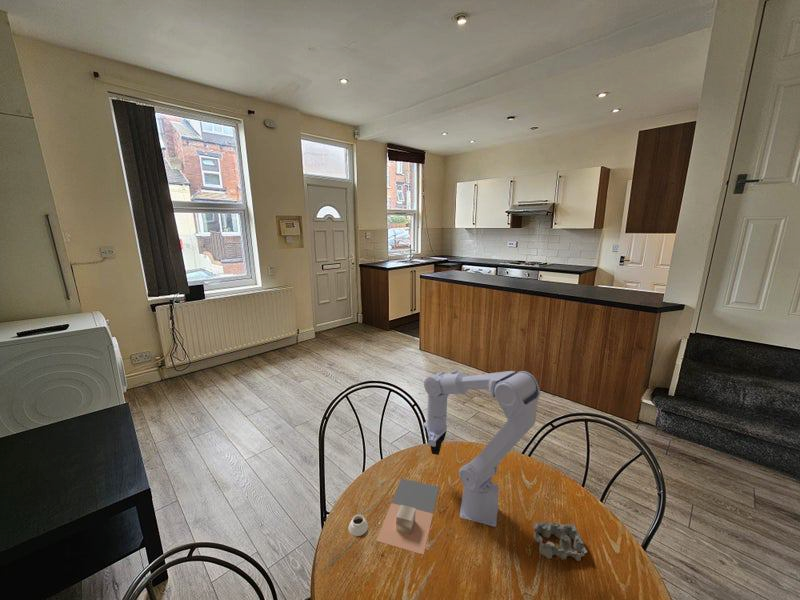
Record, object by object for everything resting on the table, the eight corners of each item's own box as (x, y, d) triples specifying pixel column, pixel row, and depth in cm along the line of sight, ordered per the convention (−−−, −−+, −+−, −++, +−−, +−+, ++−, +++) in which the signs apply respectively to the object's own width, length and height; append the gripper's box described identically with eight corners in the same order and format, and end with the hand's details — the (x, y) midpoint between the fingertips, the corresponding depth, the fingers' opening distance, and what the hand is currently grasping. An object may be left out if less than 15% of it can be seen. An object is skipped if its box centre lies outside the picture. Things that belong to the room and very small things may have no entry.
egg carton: (540, 559, 76) (541, 545, 75) (530, 530, 83) (532, 517, 82) (587, 564, 75) (589, 550, 74) (574, 535, 82) (576, 521, 81)
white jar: (357, 517, 86) (344, 531, 82) (357, 508, 86) (344, 521, 82) (371, 527, 84) (359, 541, 80) (371, 517, 83) (359, 531, 79)
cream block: (415, 521, 85) (415, 508, 84) (411, 534, 81) (411, 520, 80) (400, 517, 86) (401, 504, 85) (396, 530, 82) (396, 516, 81)
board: (439, 488, 97) (439, 486, 96) (423, 556, 76) (423, 554, 76) (401, 479, 100) (401, 478, 100) (376, 542, 79) (376, 540, 79)
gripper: (428, 399, 103) (427, 436, 106) (418, 423, 90) (417, 466, 92) (450, 402, 102) (448, 440, 104) (443, 427, 88) (441, 471, 90)
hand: (435, 453), depth 98 cm, fingers closed
